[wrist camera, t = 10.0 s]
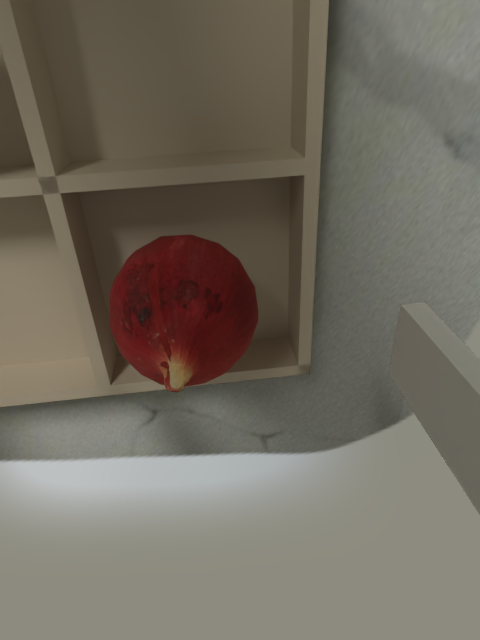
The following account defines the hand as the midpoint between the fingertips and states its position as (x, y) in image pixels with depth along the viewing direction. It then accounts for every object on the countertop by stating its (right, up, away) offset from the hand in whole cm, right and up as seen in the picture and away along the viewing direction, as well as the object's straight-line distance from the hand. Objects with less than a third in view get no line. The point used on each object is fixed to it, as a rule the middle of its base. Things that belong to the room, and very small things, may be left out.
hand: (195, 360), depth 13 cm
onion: (-1, +4, +7) cm, 8 cm away
